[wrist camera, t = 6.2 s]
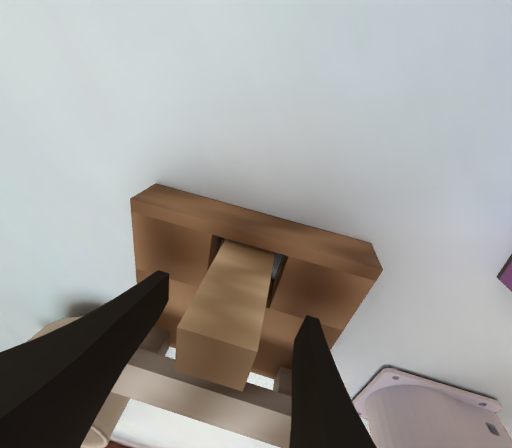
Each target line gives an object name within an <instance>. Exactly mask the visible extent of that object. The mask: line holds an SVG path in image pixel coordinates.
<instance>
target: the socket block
mask: <svg viewBox="0 0 512 448" xmlns="http://www.w3.org/2000/svg"><path fill="white" fill-rule="evenodd" d="M130 203H131V215H132V228H133V241H134V253H135V266H136V279H137V284H138V283H139V282H141V281H142V280H144V279H145V278H147V277H148V276H150V275H151V274H153V273H154V272H156V271H157V270H160V271H163V272H166V273H169V301H168V303H167V305H166V306H165V308H164V310H163V312H162V314H161V316H160V317H159V319H158V321H157V322H156V323H155V325H154V326H153V328H152V329H151V331H150V332H149V334H148V335H147V336H146V338H145V339H144V341H143V342H142V343H141V345H140V346H139V348H138V349H137V351H136V352H135V353H134V355H133V356H132V358H131V359H130V361H129V362H128V364H127V365H126V367H125V368H124V370H123V371H122V373H121V375H120V377H119V378H118V380H117V382H116V383H115V385H114V387H113V388H112V390H111V392H113V393H116V394H119V395H122V396H125V397H129V398H132V399H135V400H138V401H141V402H144V403H147V404H150V405H153V406H156V407H159V408H162V409H165V410H168V411H171V412H174V413H177V414H180V415H183V416H186V417H189V418H192V419H195V420H198V421H202V422H205V423H208V424H211V425H214V426H217V427H220V428H223V429H226V430H229V431H232V432H235V433H238V434H241V435H244V436H247V437H250V438H253V439H256V440H259V441H262V442H265V443H268V444H271V445H275V446H278V447H281V448H289V442H290V431H291V408H292V355H293V346H294V339H295V337H296V335H297V333H298V331H299V329H300V327H301V325H302V323H303V321H304V319H305V317H306V315H309V316H312V317H315V318H319V320H320V323H321V326H322V329H323V332H324V335H325V338H326V341H327V344H328V346H329V349H331V348H332V346H333V345H334V343H335V342H336V340H337V339H338V337H339V336H340V334H341V333H342V331H343V330H344V328H345V327H346V325H347V324H348V322H349V321H350V319H351V318H352V316H353V315H354V313H355V312H356V310H357V309H358V307H359V306H360V304H361V303H362V301H363V300H364V298H365V297H366V295H367V293H368V292H369V290H370V289H371V287H372V286H373V284H374V283H375V281H376V280H377V278H378V277H379V275H380V274H381V272H382V271H383V269H382V267H381V265H380V262H379V260H378V258H377V256H376V253H375V251H374V249H373V247H372V244H371V243H368V242H364V241H360V240H357V239H353V238H350V237H346V236H342V235H339V234H335V233H332V232H328V231H324V230H321V229H317V228H314V227H310V226H306V225H303V224H299V223H295V222H292V221H288V220H285V219H281V218H277V217H274V216H270V215H267V214H263V213H259V212H256V211H252V210H248V209H245V208H241V207H238V206H234V205H230V204H227V203H223V202H220V201H216V200H212V199H209V198H205V197H202V196H198V195H194V194H191V193H187V192H183V191H180V190H176V189H173V188H169V187H165V186H162V185H158V184H154V185H152V186H151V187H149V188H147V189H146V190H144V191H142V192H141V193H139V194H137V195H136V196H134V197H132V198H131V199H130ZM221 237H223V238H226V239H230V240H233V241H237V242H240V243H244V244H247V245H251V246H254V247H258V248H261V249H265V250H268V251H272V252H275V253H279V254H282V255H283V257H282V260H281V263H280V266H279V269H278V272H277V275H276V278H275V280H274V281H270V285H269V291H268V296H267V302H266V307H265V313H264V318H263V324H262V329H261V335H260V340H259V346H258V351H257V354H256V357H255V360H254V362H253V365H252V368H251V370H250V372H253V373H256V374H259V375H262V376H265V377H269V378H272V379H274V387H273V390H269V389H266V388H263V387H260V386H257V385H254V384H250V383H247V382H246V384H245V387H244V389H243V392H242V391H239V390H236V389H233V388H230V387H227V386H223V385H220V384H217V383H214V382H211V381H208V380H204V379H201V378H198V377H195V376H192V375H189V374H185V373H182V372H179V371H176V370H175V359H171V358H168V357H165V354H166V352H167V350H168V348H169V346H170V347H173V348H176V338H177V326H178V325H179V323H180V321H181V319H182V317H183V315H184V314H185V312H186V310H187V308H188V306H189V304H190V303H191V301H192V299H193V297H194V295H195V294H196V292H197V290H198V288H199V286H200V284H201V283H202V281H203V279H204V277H205V275H206V273H207V272H208V270H209V268H210V266H211V264H212V262H213V261H214V259H215V257H216V255H217V253H218V251H219V250H220V243H221Z"/></svg>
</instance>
